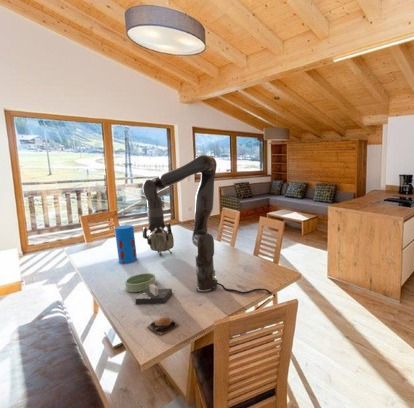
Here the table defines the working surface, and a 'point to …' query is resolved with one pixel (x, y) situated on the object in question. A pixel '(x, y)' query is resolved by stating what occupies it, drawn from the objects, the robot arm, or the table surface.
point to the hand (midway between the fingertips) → (158, 243)
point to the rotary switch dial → (153, 296)
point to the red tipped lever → (153, 289)
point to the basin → (140, 282)
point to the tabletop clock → (161, 242)
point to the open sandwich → (162, 325)
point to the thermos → (125, 244)
